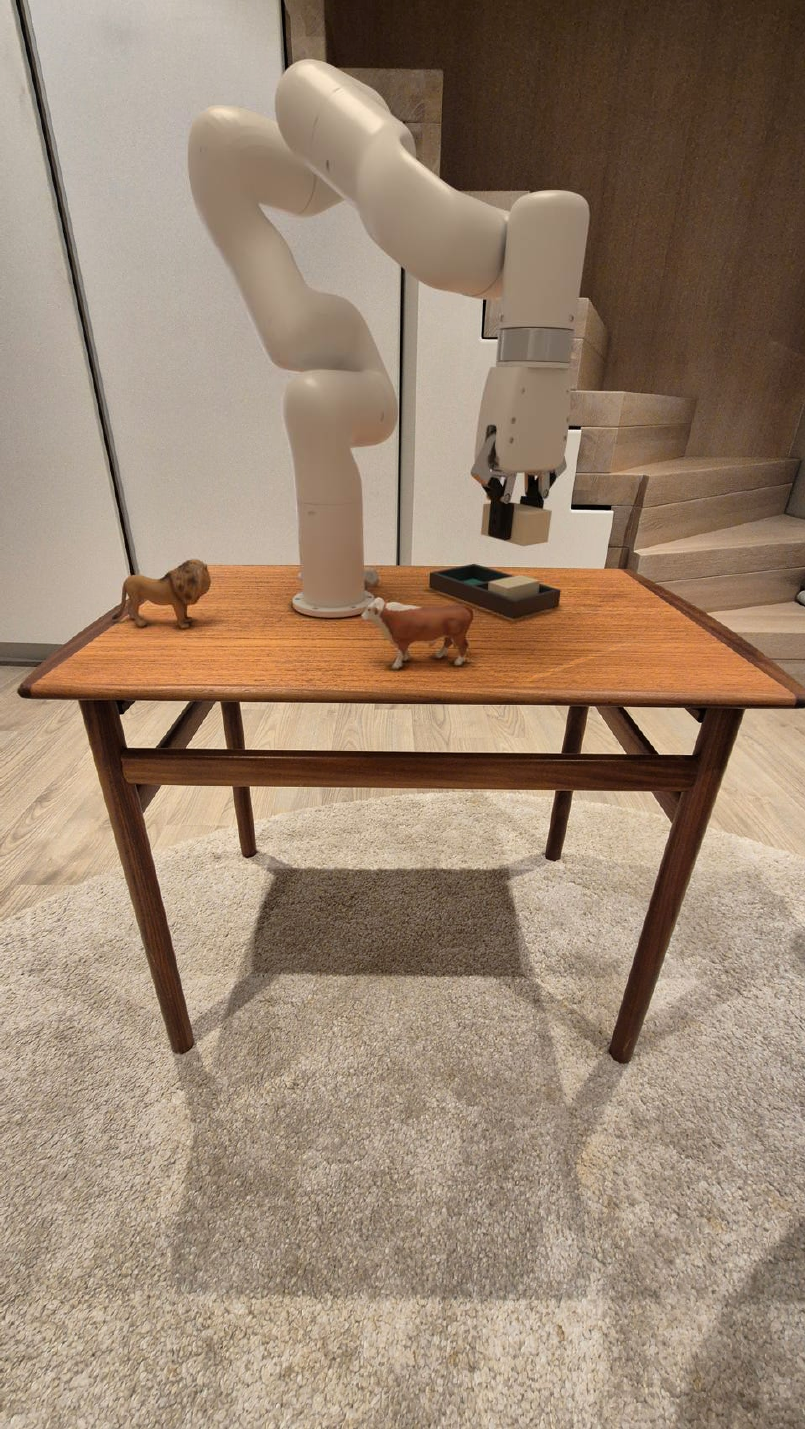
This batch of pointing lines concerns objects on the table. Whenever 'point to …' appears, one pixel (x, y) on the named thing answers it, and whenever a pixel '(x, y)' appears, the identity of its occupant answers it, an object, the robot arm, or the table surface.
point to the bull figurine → (421, 626)
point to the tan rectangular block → (523, 524)
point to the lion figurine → (167, 591)
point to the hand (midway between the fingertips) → (513, 533)
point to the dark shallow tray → (474, 589)
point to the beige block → (515, 587)
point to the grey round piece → (371, 578)
